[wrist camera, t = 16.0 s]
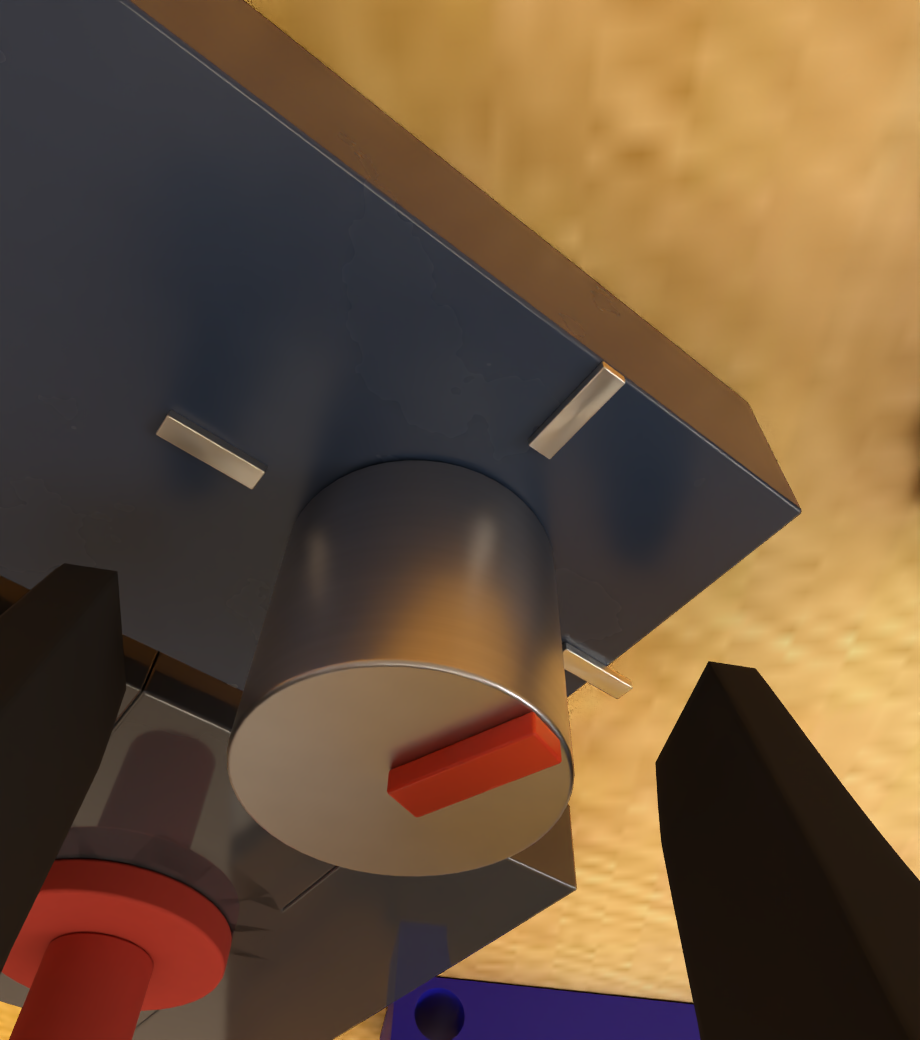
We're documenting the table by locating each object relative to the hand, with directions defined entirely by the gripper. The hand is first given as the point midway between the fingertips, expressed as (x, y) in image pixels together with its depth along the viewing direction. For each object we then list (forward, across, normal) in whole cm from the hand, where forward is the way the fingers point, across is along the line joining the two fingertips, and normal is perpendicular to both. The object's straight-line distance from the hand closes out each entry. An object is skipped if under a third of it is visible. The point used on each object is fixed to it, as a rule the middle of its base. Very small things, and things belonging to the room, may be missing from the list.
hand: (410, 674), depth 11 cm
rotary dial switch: (+5, +2, -1) cm, 5 cm away
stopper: (+5, +5, +13) cm, 15 cm away
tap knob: (+2, 0, 0) cm, 2 cm away
